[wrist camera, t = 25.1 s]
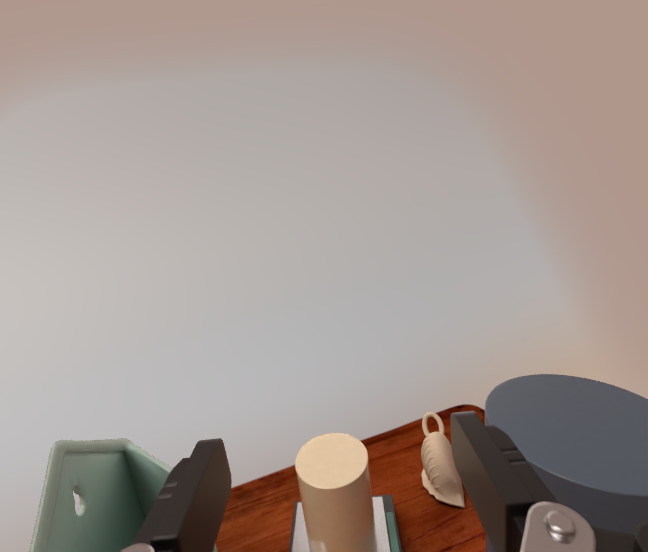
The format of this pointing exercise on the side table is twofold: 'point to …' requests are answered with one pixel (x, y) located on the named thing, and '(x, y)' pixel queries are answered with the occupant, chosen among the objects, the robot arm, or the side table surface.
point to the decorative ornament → (440, 466)
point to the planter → (96, 496)
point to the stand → (580, 444)
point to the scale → (384, 521)
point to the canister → (336, 494)
